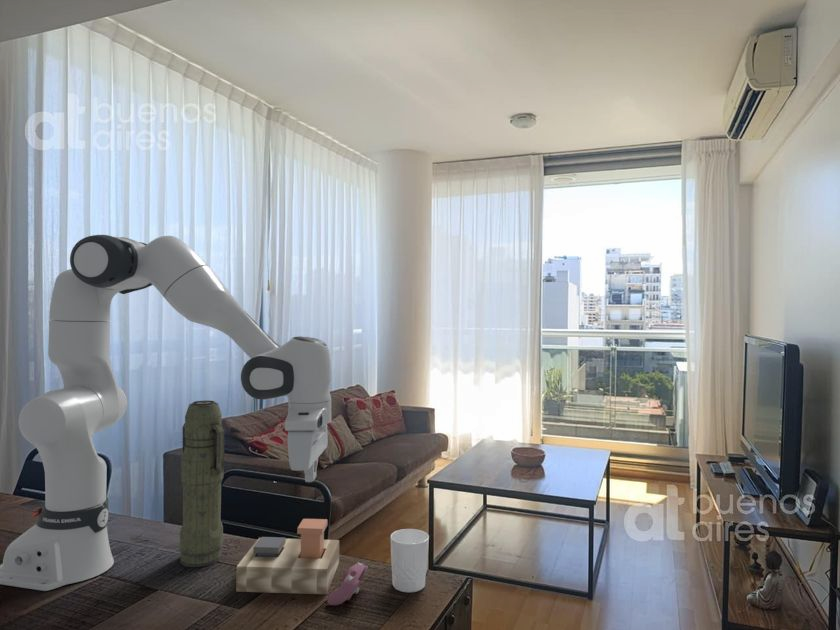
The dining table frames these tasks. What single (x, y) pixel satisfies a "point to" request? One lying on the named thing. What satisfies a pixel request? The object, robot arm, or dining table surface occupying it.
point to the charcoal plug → (269, 546)
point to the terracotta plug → (312, 537)
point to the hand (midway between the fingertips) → (310, 480)
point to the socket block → (288, 570)
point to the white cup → (409, 559)
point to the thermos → (202, 485)
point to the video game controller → (348, 584)
